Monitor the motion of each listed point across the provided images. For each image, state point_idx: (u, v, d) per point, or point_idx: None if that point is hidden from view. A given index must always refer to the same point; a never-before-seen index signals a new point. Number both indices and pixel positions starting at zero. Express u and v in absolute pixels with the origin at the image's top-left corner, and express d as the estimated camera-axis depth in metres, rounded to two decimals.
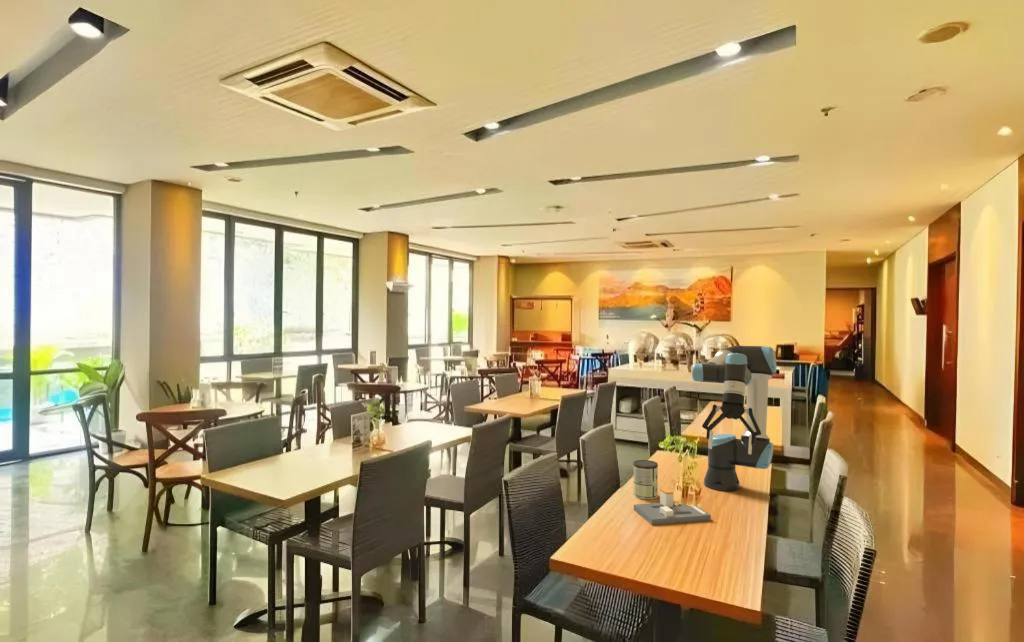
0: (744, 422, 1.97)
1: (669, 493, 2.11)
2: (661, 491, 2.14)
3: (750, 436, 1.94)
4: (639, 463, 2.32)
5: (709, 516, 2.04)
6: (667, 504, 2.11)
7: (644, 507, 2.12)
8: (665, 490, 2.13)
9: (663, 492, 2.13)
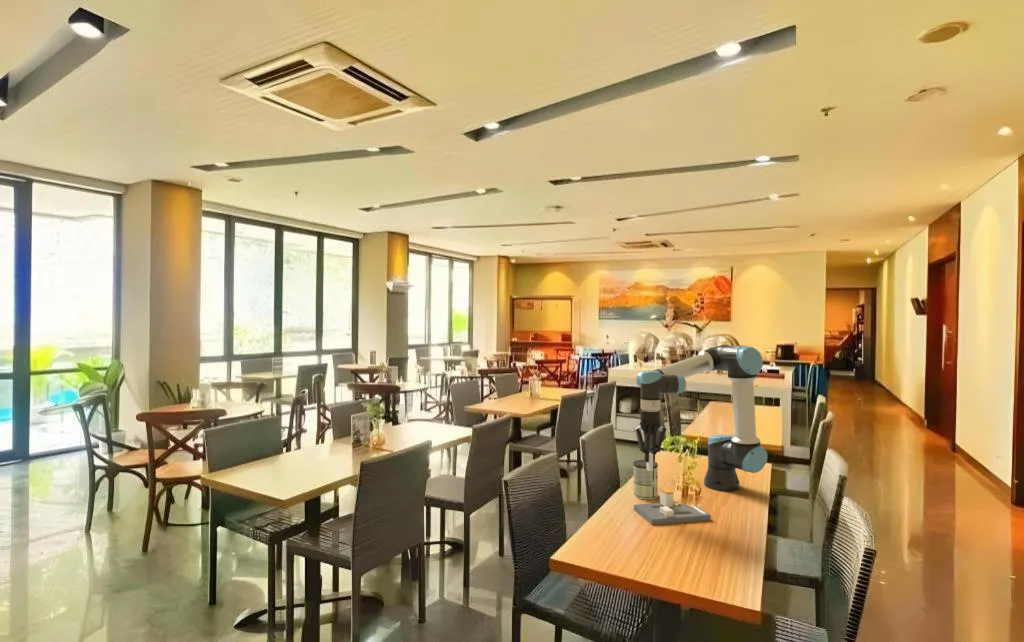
0: (654, 440, 2.11)
1: (669, 493, 2.11)
2: (661, 491, 2.14)
3: (652, 455, 2.11)
4: (639, 463, 2.32)
5: (709, 516, 2.04)
6: (667, 504, 2.11)
7: (644, 507, 2.12)
8: (665, 490, 2.13)
9: (663, 492, 2.13)
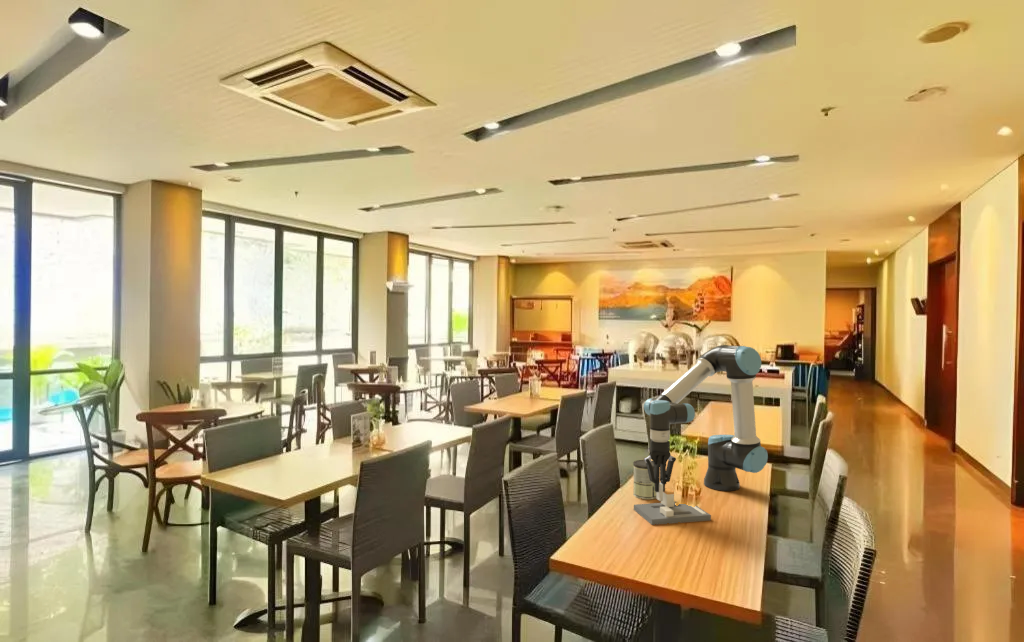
0: (664, 469, 2.12)
1: (670, 493, 2.11)
2: None
3: (662, 485, 2.12)
4: (639, 463, 2.32)
5: (709, 516, 2.04)
6: (668, 504, 2.11)
7: (644, 507, 2.12)
8: (666, 490, 2.13)
9: (664, 492, 2.13)
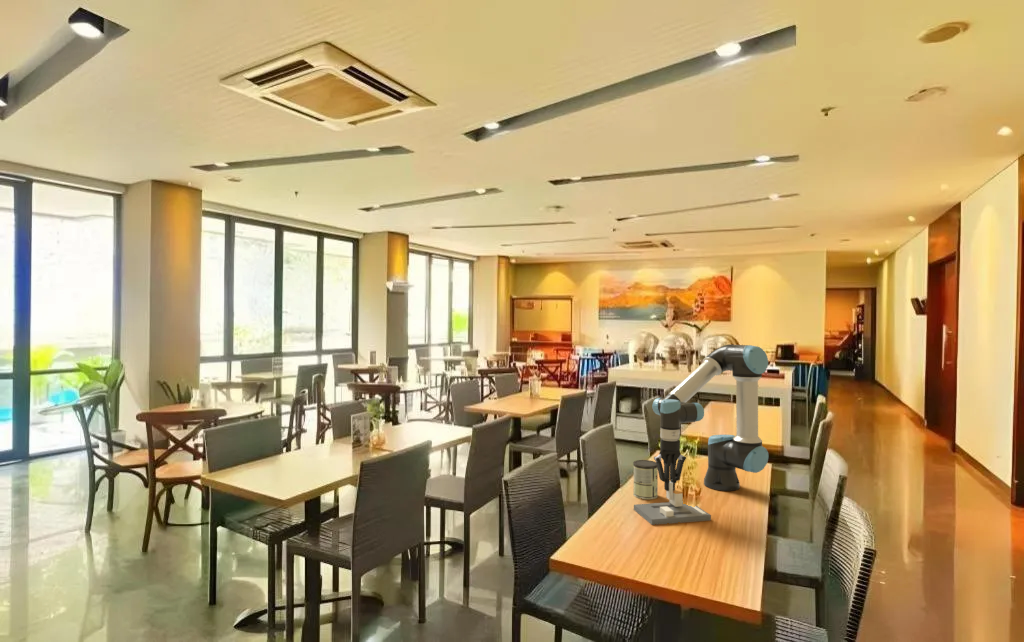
0: (674, 468, 2.13)
1: (679, 492, 2.12)
2: None
3: (672, 484, 2.12)
4: (639, 463, 2.32)
5: (709, 516, 2.04)
6: (677, 503, 2.12)
7: (644, 507, 2.12)
8: (675, 489, 2.14)
9: (673, 491, 2.13)
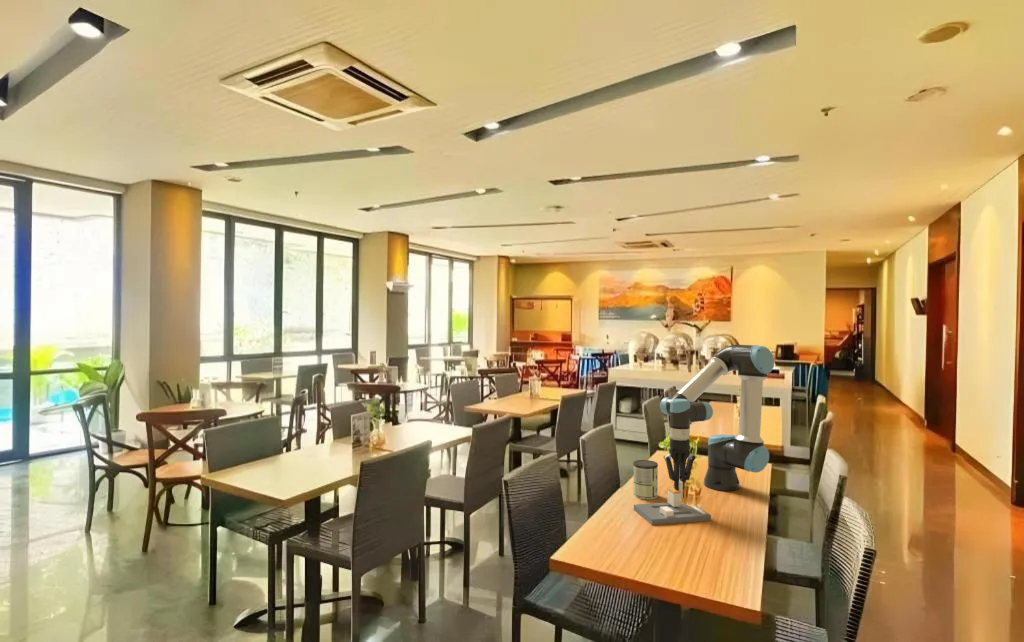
0: (683, 468, 2.13)
1: (677, 493, 2.12)
2: (669, 491, 2.15)
3: (682, 483, 2.13)
4: (639, 463, 2.32)
5: (709, 516, 2.04)
6: (675, 503, 2.11)
7: (644, 507, 2.12)
8: (673, 489, 2.14)
9: (671, 492, 2.13)
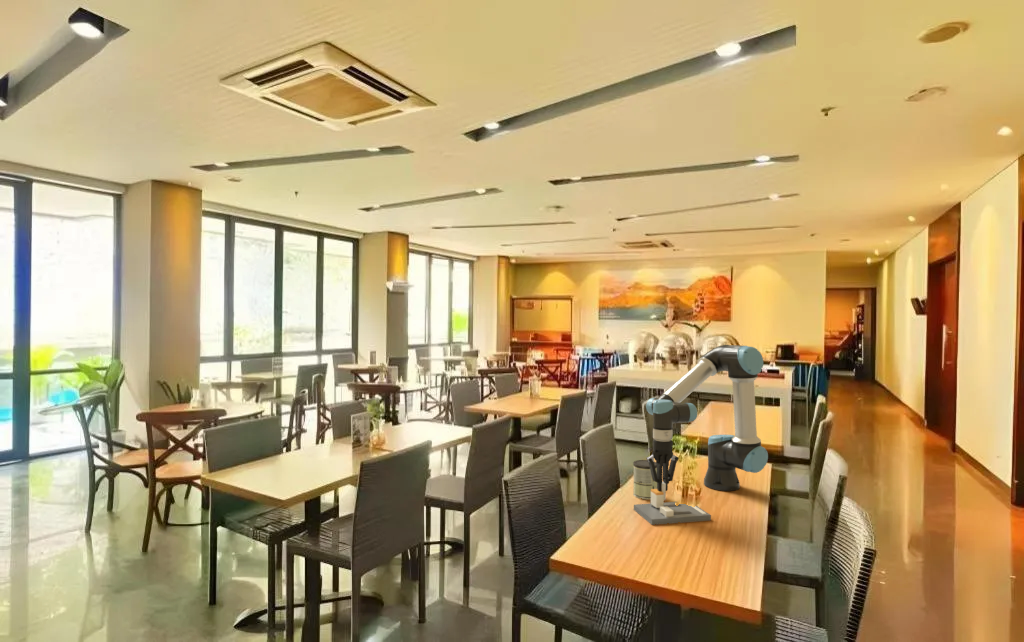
0: (666, 469, 2.12)
1: (660, 494, 2.10)
2: (652, 492, 2.13)
3: (664, 484, 2.12)
4: (639, 463, 2.32)
5: (709, 516, 2.04)
6: (658, 505, 2.10)
7: (644, 507, 2.12)
8: (656, 490, 2.12)
9: (654, 493, 2.12)
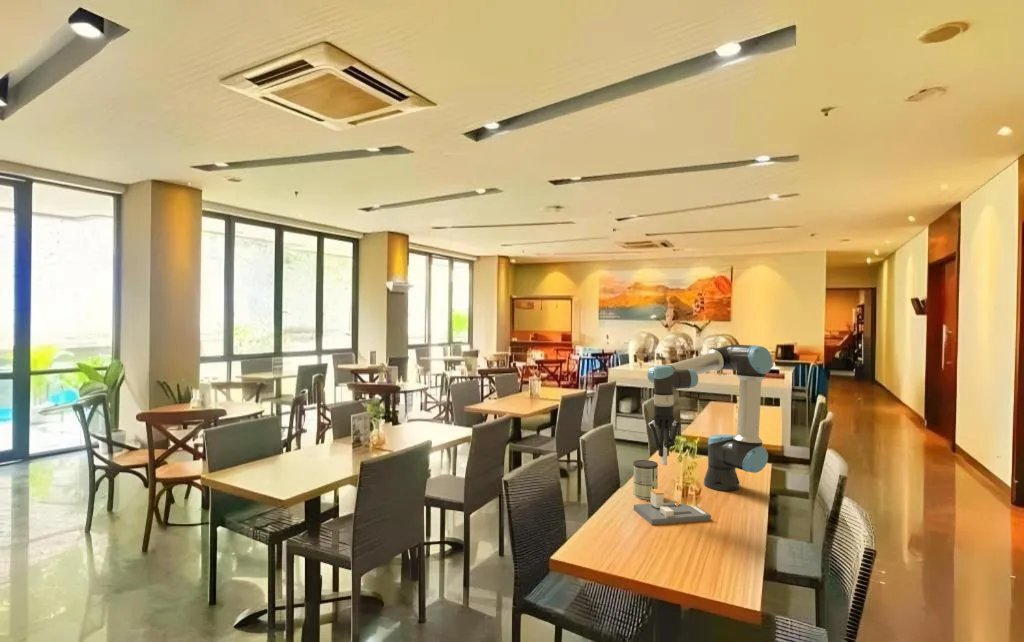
0: (668, 434, 2.13)
1: (659, 494, 2.10)
2: (652, 492, 2.13)
3: (666, 449, 2.12)
4: (639, 463, 2.32)
5: (709, 516, 2.04)
6: (657, 505, 2.10)
7: (644, 507, 2.12)
8: (656, 491, 2.12)
9: (654, 493, 2.12)
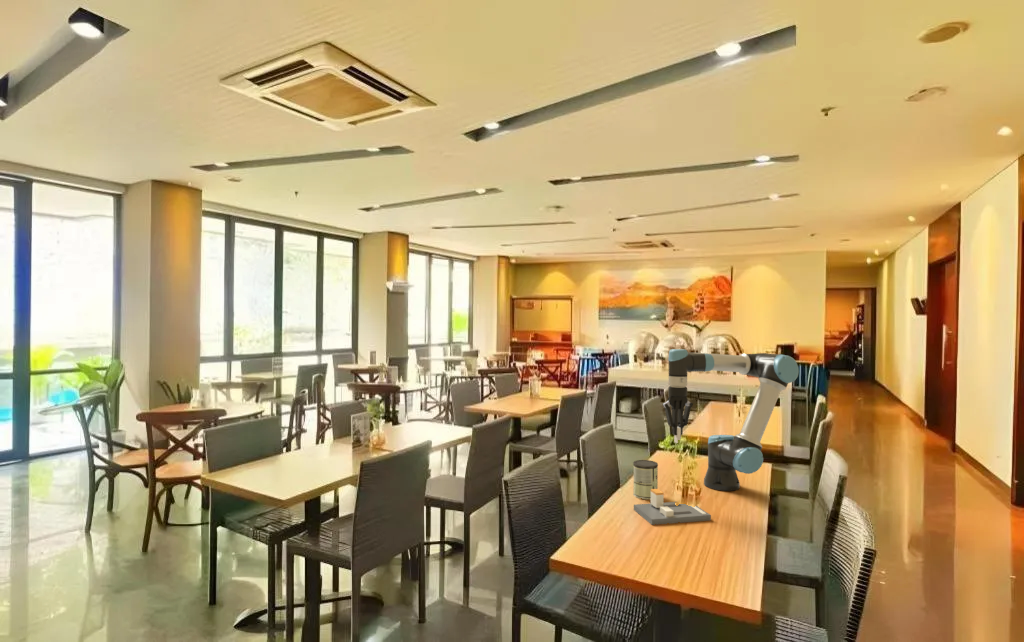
0: (681, 414, 2.24)
1: (659, 494, 2.10)
2: (652, 492, 2.13)
3: (680, 428, 2.24)
4: (639, 463, 2.32)
5: (709, 516, 2.04)
6: (657, 505, 2.10)
7: (644, 507, 2.12)
8: (656, 491, 2.12)
9: (654, 493, 2.12)
